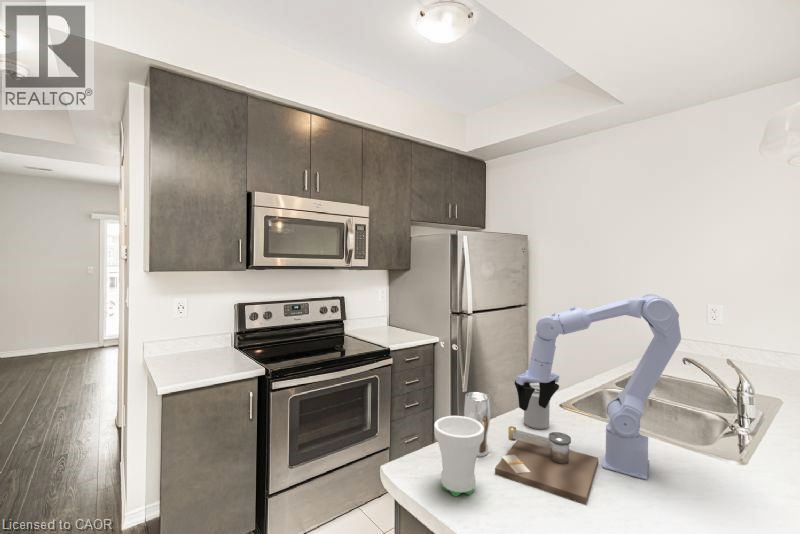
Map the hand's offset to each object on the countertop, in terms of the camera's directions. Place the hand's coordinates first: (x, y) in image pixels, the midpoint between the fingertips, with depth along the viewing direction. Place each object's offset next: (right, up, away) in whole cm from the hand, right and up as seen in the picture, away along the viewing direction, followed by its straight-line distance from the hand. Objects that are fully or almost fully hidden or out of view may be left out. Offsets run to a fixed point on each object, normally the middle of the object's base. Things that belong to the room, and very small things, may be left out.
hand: (532, 407), depth 104 cm
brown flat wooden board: (0, -12, -10) cm, 15 cm away
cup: (-23, -12, -18) cm, 32 cm away
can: (+6, -11, +15) cm, 20 cm away
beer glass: (-16, -11, -1) cm, 19 cm away
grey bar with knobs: (0, -10, -5) cm, 11 cm away
